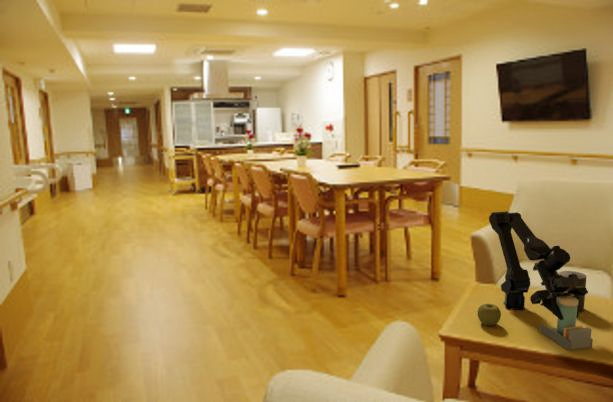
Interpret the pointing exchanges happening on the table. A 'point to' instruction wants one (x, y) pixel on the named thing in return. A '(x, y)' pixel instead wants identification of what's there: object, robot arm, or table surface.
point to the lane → (570, 337)
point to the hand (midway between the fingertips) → (569, 318)
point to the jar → (567, 313)
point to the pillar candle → (581, 283)
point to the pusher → (566, 331)
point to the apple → (489, 314)
